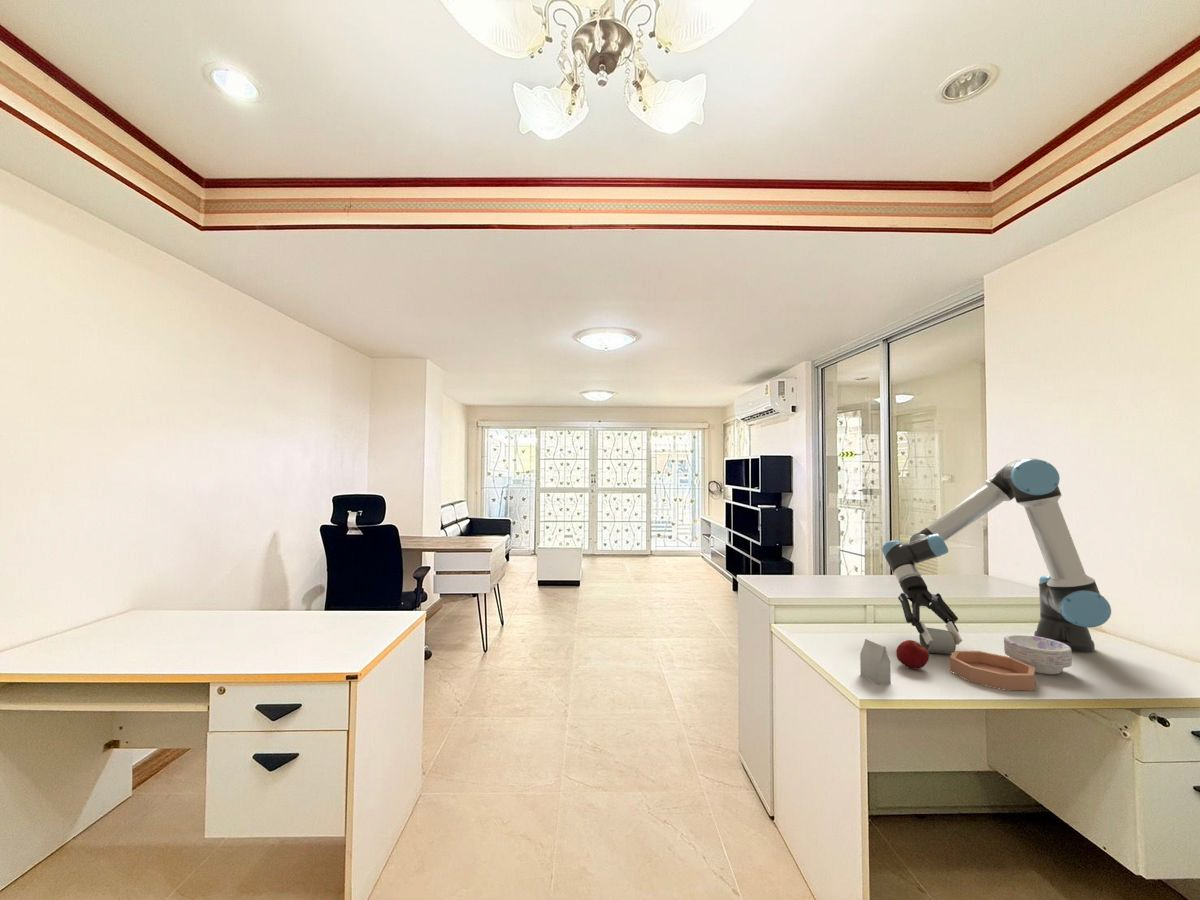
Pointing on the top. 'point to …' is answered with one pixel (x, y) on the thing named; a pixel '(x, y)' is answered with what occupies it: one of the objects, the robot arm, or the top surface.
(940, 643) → the ceramic mug
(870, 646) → the tea bag
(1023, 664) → the terracotta bowl
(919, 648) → the apple
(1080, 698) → the top surface
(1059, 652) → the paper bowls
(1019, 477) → the robot arm
